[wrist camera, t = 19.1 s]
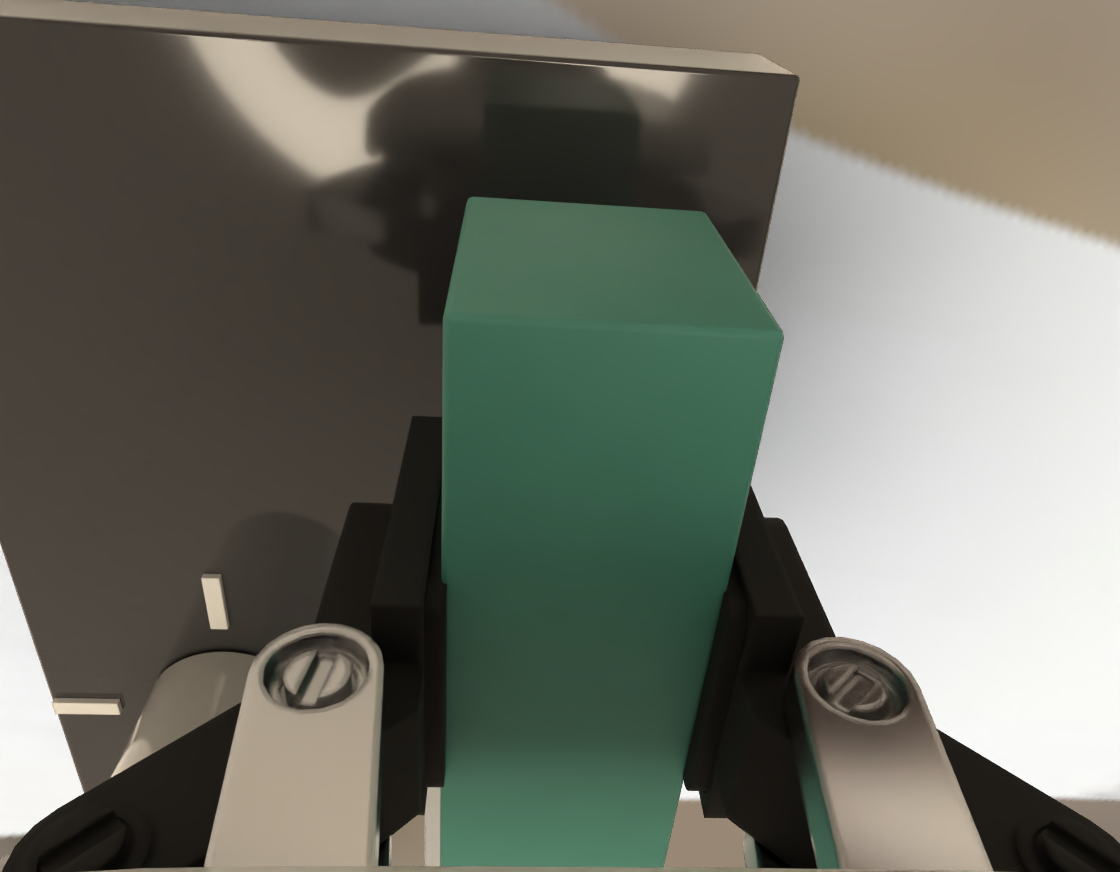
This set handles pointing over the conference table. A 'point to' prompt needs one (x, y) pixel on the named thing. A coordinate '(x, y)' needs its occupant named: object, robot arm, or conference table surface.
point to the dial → (186, 701)
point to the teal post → (586, 520)
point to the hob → (277, 291)
